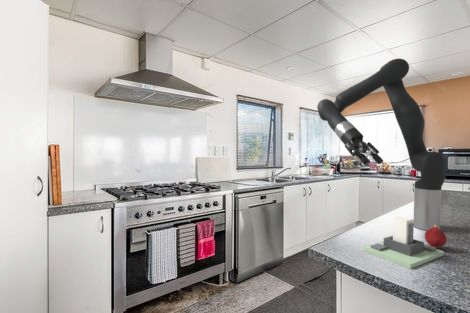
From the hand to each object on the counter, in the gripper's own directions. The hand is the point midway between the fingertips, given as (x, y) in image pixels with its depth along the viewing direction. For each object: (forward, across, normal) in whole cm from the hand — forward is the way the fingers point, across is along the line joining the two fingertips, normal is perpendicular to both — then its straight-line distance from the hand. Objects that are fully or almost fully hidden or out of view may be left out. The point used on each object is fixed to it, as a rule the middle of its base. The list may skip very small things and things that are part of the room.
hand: (374, 162), depth 92 cm
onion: (+32, +10, +9) cm, 34 cm away
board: (+29, -4, +11) cm, 32 cm away
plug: (+28, -4, +10) cm, 30 cm away
